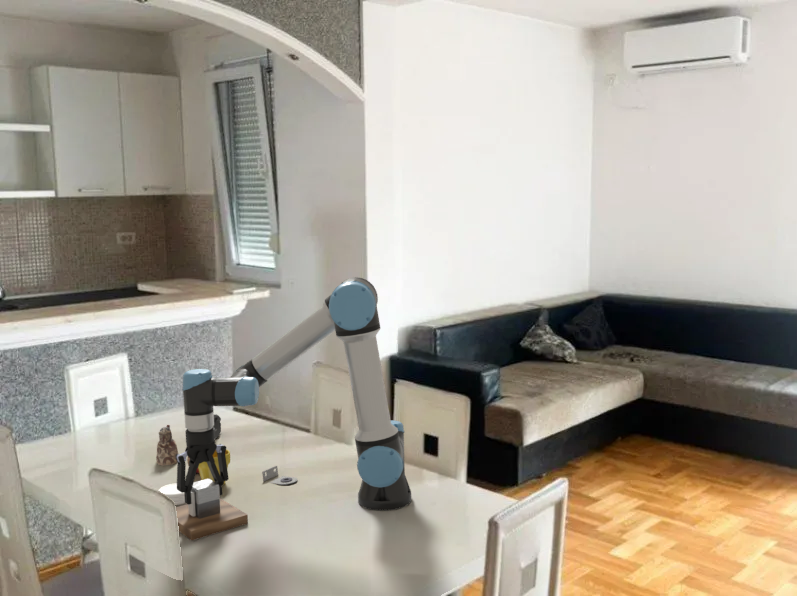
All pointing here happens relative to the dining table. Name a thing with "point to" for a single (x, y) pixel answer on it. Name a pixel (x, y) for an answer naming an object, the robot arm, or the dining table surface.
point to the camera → (217, 425)
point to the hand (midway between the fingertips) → (204, 511)
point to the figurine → (166, 447)
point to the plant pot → (204, 468)
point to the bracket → (280, 481)
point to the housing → (206, 498)
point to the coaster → (173, 493)
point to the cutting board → (209, 521)
